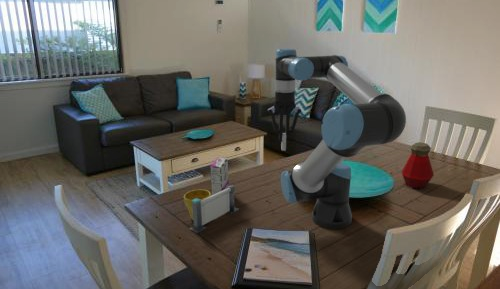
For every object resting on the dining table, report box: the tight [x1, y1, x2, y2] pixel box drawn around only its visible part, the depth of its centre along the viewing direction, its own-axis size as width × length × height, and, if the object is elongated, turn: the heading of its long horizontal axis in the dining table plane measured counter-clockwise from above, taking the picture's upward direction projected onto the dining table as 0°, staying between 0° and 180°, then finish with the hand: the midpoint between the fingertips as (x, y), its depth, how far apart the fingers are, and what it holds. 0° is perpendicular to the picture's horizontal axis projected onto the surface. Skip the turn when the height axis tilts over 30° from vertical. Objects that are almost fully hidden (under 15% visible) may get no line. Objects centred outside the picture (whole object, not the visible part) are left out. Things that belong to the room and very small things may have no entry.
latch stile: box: [188, 198, 207, 234], centre depth 141 cm, size 4×4×12 cm
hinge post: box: [227, 191, 240, 215], centre depth 156 cm, size 4×4×8 cm
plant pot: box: [183, 188, 212, 221], centre depth 149 cm, size 10×10×10 cm
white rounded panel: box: [200, 184, 236, 226], centre depth 149 cm, size 18×3×10 cm, turn 140°
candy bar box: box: [210, 157, 230, 196], centre depth 166 cm, size 11×5×16 cm, turn 168°
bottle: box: [401, 141, 435, 189], centre depth 177 cm, size 16×14×20 cm
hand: (283, 149), depth 154 cm, fingers closed
